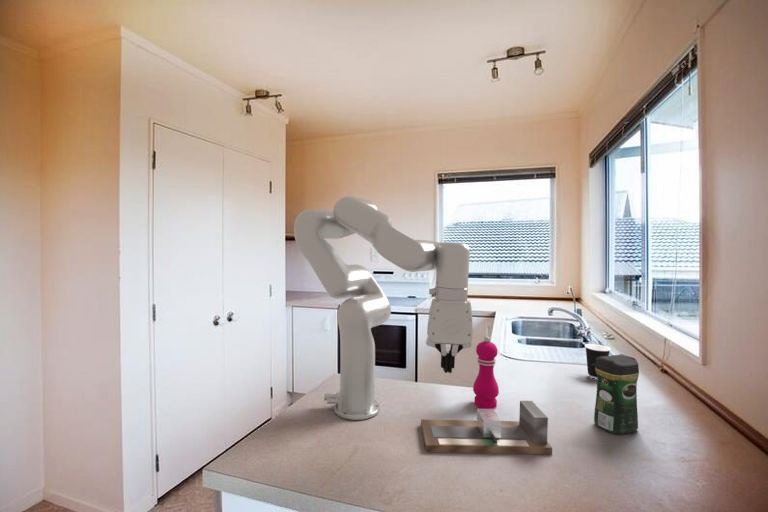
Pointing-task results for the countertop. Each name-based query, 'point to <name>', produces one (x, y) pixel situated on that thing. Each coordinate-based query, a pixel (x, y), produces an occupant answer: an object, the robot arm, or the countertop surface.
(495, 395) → the pepper mill
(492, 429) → the gauge slider
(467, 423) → the base
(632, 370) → the coffee jar
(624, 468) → the countertop surface
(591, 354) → the dixie cup
